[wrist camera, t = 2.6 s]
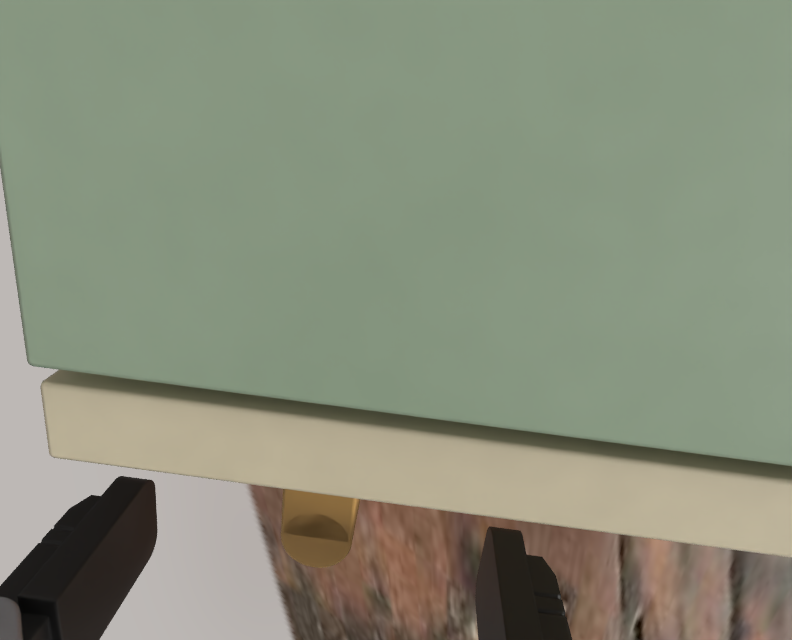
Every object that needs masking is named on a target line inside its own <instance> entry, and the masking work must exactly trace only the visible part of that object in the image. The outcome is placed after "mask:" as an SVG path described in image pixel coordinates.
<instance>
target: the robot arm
mask: <svg viewBox="0 0 792 640" xmlns="http://www.w3.org/2000/svg"><path fill="white" fill-rule="evenodd" d="M156 538H157V514H156V494H155V484H154V482H153V481H152V480H147V479H139V478H131V477H124V476H120V477H118V478H116V479H115V481H114V482H113V483H112V484H111V485H110V487H109V488H108V489H107V490H106V491H105V492H104V494H103V495H102V496H94V495H91V496H89V497H88V498H86V499H84V500H83V501H81V502H80V503H78V504H76V505H75V506H73V507H71V508H70V509H69V510H68V511H67V512H66V513H65V515H63V517H62V518H61V519H60V520H59V521H58V522H57V523H56V524H55V526H54V529H51V530H50V531H49V532H48V533H47V534H46V536H45V537H44V538H43V539H42V542H41V543H38V545H37V546H36V547H35V548H34V549H33V550H32V551H31V552H30V553H29V554H28V556H27V557H26V558H25V559H24V560H23V561H22V562H21V563H20V565H19V566H18V567H17V568H16V569H15V570H14V571H13V572H12V573H11V575H10V576H9V577H8V578H7V579H6V580H5V581H4V582H3V584H2V585H1V586H0V640H99V639H100V637H101V636H102V634H103V633H104V631H105V629H106V628H107V626H108V625H109V623H110V621H111V620H112V618H113V617H114V615H115V614H116V612H117V610H118V609H119V607H120V605H121V604H122V602H123V601H124V599H125V597H126V596H127V594H128V592H129V591H130V589H131V588H132V586H133V585H134V583H135V581H136V580H137V578H138V576H139V575H140V573H141V572H142V570H143V569H144V567H145V565H146V564H147V562H148V560H149V559H150V557H151V555H152V552H153V550H154V547H155V543H156ZM476 614H477V626H478V638H479V640H572V637H571V633H570V629H569V626H568V622H567V618H566V617H565V610H564V606H563V602H562V600H561V594H560V591H559V587H558V583H557V579H556V575H555V574H554V573H553V571H552V570H551V568H550V567H549V566H548V564H547V563H546V562H545V560H544V559H543V557H539V556H531V555H526V551H525V546H524V541H523V536H522V533H521V531H519V530H512V529H504V528H497V527H489V528H488V530H487V533H486V538H485V543H484V547H483V552H482V556H481V561H480V566H479V570H478V575H477V582H476Z"/></svg>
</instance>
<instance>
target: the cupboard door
mask: <svg viewBox="0 0 792 640" xmlns="http://www.w3.org/2000/svg"><path fill="white" fill-rule="evenodd" d="M41 394H42V402H43V408H44V409H43V410H44V417H45V424H46V431H47V439H48V447H49V454H50V455H51V456H52V457H54V458H61V459H69V460H76V461H84V462H91V463H98V464H106V465H114V466H120V467H128V468H135V469H142V470H149V471H157V472H165V473H172V474H179V475H186V476H194V477H201V478H208V479H216V480H224V481H231V482H238V483H245V484H253V485H260V486H267V487H275V488H282V489H283V500H282V521H281V541H282V545H283V547H284V549H285V551H286V552H287V553H288V554H289V556H291V557H292V558H293V559H294V560H296V561H297V562H299V563H301V564H303V565H306V566H310V567H316V568H323V567H329V566H333V565H335V564H337V563H339V562H340V561H342V560H343V559H344V558H345V557H346V556H347V554H348V553H349V551H350V549H351V544H352V539H353V534H354V529H355V524H356V519H357V513H358V508H359V503H360V499H363V500H371V501H378V502H386V503H393V504H400V505H408V506H415V507H422V508H430V509H437V510H445V511H452V512H459V513H467V514H474V515H481V516H489V517H496V518H504V519H511V520H518V521H526V522H533V523H540V524H548V525H555V526H563V527H570V528H577V529H585V530H592V531H600V532H607V533H614V534H622V535H629V536H636V537H644V538H651V539H659V540H666V541H673V542H681V543H688V544H695V545H703V546H710V547H718V548H725V549H732V550H740V551H747V552H754V553H762V554H769V555H777V556H784V557H791V558H792V466H787V465H779V464H772V463H764V462H757V461H749V460H742V459H734V458H726V457H719V456H711V455H704V454H696V453H688V452H681V451H673V450H666V449H658V448H651V447H643V446H635V445H628V444H620V443H613V442H605V441H597V440H590V439H582V438H575V437H567V436H559V435H552V434H544V433H537V432H529V431H522V430H514V429H506V428H499V427H491V426H484V425H476V424H468V423H461V422H453V421H446V420H438V419H431V418H423V417H415V416H408V415H400V414H393V413H385V412H377V411H370V410H362V409H355V408H347V407H340V406H332V405H324V404H317V403H309V402H302V401H294V400H286V399H279V398H271V397H264V396H256V395H249V394H241V393H233V392H226V391H218V390H211V389H203V388H195V387H188V386H180V385H173V384H165V383H158V382H150V381H142V380H135V379H127V378H120V377H112V376H104V375H97V374H89V373H82V372H74V371H67V370H58V371H57V372H55V373H54V374H53V375H51V376H50V377H48V378H47V379H46V380H44V381H43V382H42V384H41Z"/></svg>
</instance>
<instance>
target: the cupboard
mask: <svg viewBox="0 0 792 640" xmlns="http://www.w3.org/2000/svg"><path fill="white" fill-rule="evenodd" d="M0 168H1V175H2V183H3V190H4V197H5V204H6V211H7V219H8V225H9V233H10V240H11V247H12V254H13V261H14V268H15V276H16V283H17V290H18V298H19V304H20V311H21V319H22V326H23V333H24V341H25V348H26V355H27V361H28V363H29V364H30V365H32V366H37V367H44V368H52V369H59V370H67V371H74V372H82V373H89V374H97V375H104V376H112V377H120V378H127V379H135V380H142V381H150V382H158V383H165V384H173V385H180V386H188V387H195V388H203V389H211V390H218V391H226V392H233V393H241V394H249V395H256V396H264V397H271V398H279V399H286V400H294V401H302V402H309V403H317V404H324V405H332V406H340V407H347V408H355V409H362V410H370V411H377V412H385V413H393V414H400V415H408V416H415V417H423V418H431V419H438V420H446V421H453V422H461V423H468V424H476V425H484V426H491V427H499V428H506V429H514V430H522V431H529V432H537V433H544V434H552V435H559V436H567V437H575V438H582V439H590V440H597V441H605V442H613V443H620V444H628V445H635V446H643V447H651V448H658V449H666V450H673V451H681V452H688V453H696V454H704V455H711V456H719V457H726V458H734V459H742V460H749V461H757V462H764V463H772V464H779V465H787V466H792V0H0Z"/></svg>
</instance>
